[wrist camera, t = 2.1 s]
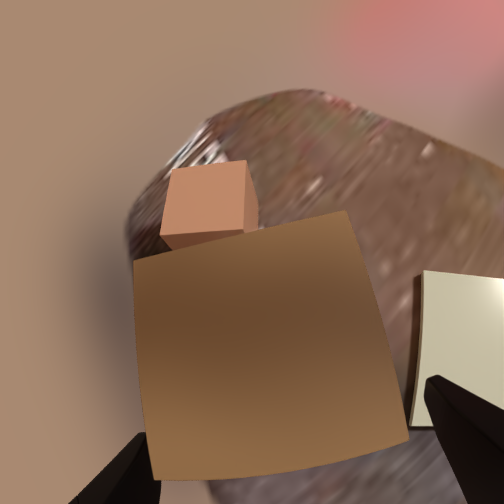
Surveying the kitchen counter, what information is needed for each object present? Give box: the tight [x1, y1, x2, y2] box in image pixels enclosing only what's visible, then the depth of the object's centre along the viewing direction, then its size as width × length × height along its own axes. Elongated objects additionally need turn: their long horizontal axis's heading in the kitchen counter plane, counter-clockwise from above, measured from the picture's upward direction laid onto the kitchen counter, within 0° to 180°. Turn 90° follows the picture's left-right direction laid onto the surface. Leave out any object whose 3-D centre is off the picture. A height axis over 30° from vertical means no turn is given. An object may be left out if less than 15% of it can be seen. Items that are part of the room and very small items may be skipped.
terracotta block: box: [160, 160, 258, 250], centre depth 21 cm, size 5×5×5 cm
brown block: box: [133, 210, 409, 481], centre depth 12 cm, size 5×5×14 cm
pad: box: [409, 271, 504, 426], centre depth 16 cm, size 10×10×1 cm
